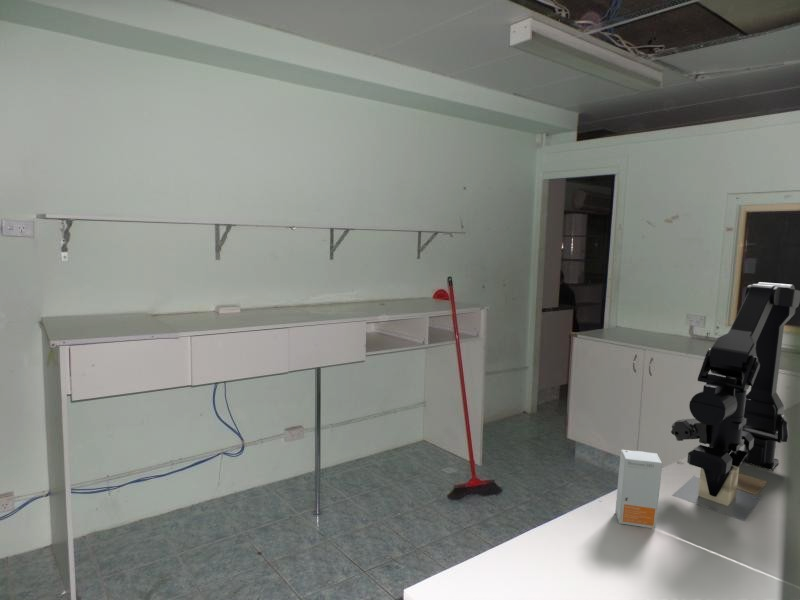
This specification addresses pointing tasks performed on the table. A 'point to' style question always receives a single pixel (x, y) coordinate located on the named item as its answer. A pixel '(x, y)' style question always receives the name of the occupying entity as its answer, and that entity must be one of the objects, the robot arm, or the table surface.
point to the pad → (750, 484)
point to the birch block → (727, 490)
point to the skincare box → (638, 488)
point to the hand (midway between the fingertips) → (717, 491)
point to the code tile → (735, 509)
